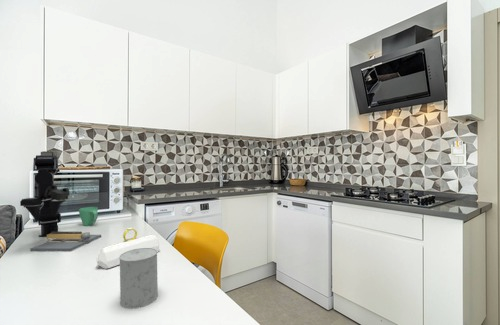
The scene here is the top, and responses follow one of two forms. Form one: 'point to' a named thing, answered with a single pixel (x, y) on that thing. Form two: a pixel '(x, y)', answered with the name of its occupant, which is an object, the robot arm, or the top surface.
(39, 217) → the robot arm
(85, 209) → the mug
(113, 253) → the white long bar
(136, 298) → the grey concrete cylinder
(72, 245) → the panel
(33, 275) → the top surface
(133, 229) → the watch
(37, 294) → the top surface
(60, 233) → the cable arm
